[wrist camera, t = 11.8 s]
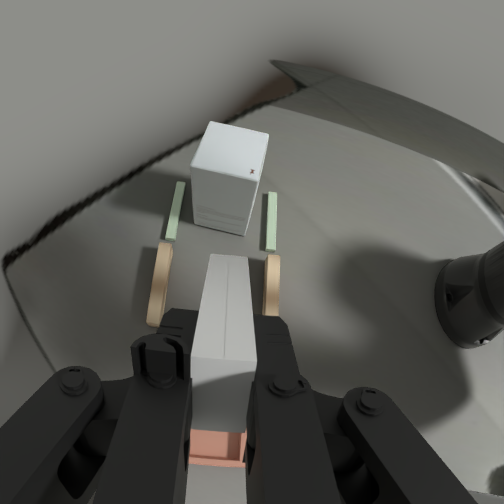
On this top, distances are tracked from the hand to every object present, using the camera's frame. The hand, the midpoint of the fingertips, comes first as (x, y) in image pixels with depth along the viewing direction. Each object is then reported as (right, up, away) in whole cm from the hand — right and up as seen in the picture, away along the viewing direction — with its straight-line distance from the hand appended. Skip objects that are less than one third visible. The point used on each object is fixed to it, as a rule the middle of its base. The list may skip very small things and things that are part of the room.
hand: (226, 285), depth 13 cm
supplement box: (-3, +7, +32) cm, 33 cm away
